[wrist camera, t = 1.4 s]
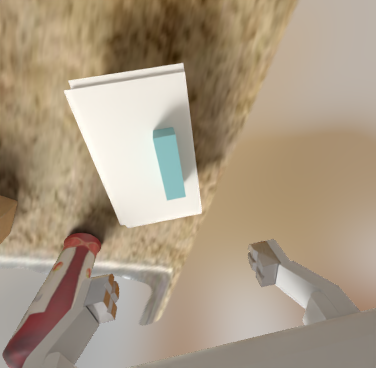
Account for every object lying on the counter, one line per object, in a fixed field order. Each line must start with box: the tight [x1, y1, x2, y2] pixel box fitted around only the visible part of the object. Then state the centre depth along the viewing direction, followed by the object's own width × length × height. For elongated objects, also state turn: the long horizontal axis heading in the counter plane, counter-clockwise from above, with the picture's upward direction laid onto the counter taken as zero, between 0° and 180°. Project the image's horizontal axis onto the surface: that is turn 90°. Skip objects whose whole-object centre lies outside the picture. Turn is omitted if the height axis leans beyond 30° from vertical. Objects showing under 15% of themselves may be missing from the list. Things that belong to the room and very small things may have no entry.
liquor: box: [3, 233, 101, 368], centre depth 28 cm, size 7×7×28 cm
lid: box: [64, 63, 202, 228], centre depth 25 cm, size 20×13×6 cm, turn 7°
